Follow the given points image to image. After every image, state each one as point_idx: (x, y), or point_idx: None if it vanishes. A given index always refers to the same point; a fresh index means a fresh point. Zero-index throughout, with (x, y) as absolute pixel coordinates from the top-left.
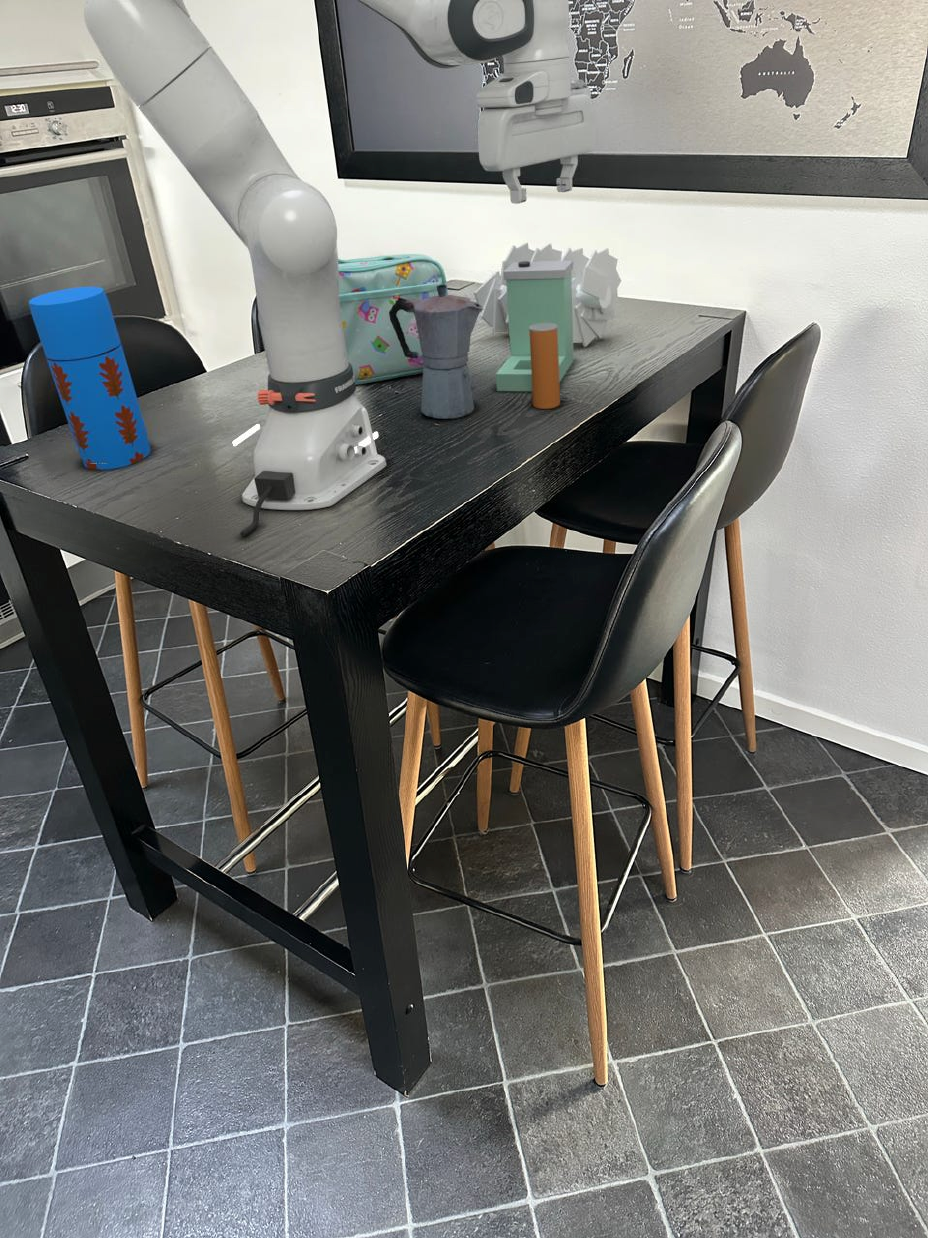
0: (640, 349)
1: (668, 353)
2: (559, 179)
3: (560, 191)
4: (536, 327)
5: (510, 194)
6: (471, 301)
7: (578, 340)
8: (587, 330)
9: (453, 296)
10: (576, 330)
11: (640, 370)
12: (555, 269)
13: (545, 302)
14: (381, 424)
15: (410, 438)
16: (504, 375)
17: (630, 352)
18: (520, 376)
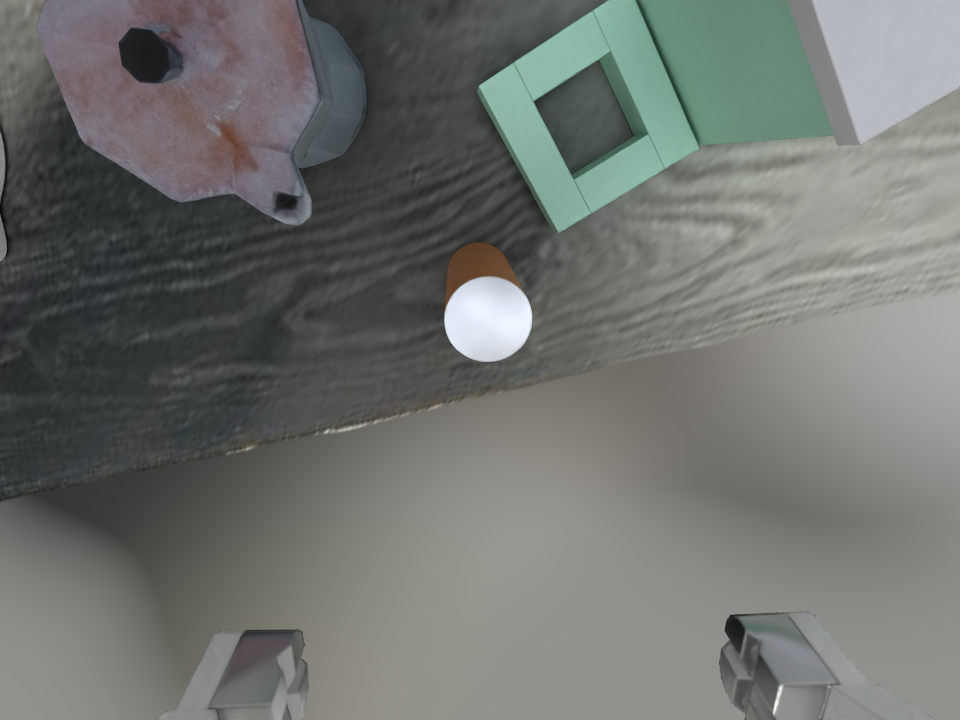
0: (922, 188)
1: (910, 271)
2: (770, 707)
3: (727, 635)
4: (467, 310)
5: (195, 674)
6: (280, 165)
7: None
8: None
9: (227, 83)
10: None
11: (770, 297)
12: (855, 98)
13: (761, 71)
14: None
15: None
16: (491, 111)
17: (891, 182)
18: (514, 153)
